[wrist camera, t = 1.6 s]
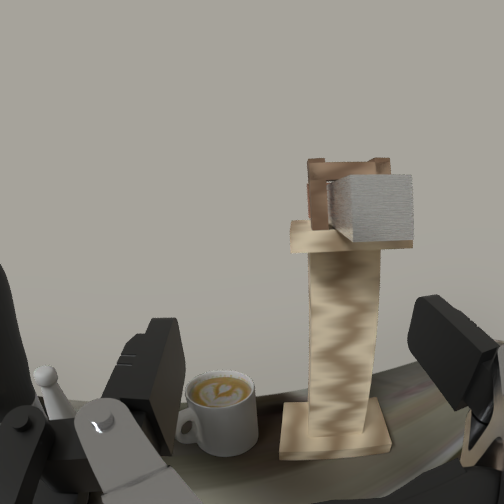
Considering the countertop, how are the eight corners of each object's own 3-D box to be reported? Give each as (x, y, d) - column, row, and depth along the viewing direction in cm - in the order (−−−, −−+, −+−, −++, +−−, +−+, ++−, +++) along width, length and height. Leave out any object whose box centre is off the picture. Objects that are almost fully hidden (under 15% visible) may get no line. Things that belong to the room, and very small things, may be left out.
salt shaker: (82, 418, 43) (59, 358, 41) (85, 437, 38) (58, 374, 36) (55, 423, 40) (29, 363, 38) (55, 442, 35) (26, 379, 33)
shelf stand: (278, 469, 33) (263, 161, 27) (284, 411, 47) (273, 173, 41) (391, 461, 31) (427, 159, 25) (375, 405, 45) (387, 170, 38)
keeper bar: (326, 243, 18) (322, 165, 17) (308, 217, 42) (306, 184, 41) (435, 239, 17) (432, 166, 16) (358, 215, 41) (357, 182, 40)
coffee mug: (242, 410, 48) (236, 363, 46) (270, 443, 39) (267, 394, 38) (168, 431, 42) (155, 383, 41) (186, 471, 34) (170, 422, 32)
